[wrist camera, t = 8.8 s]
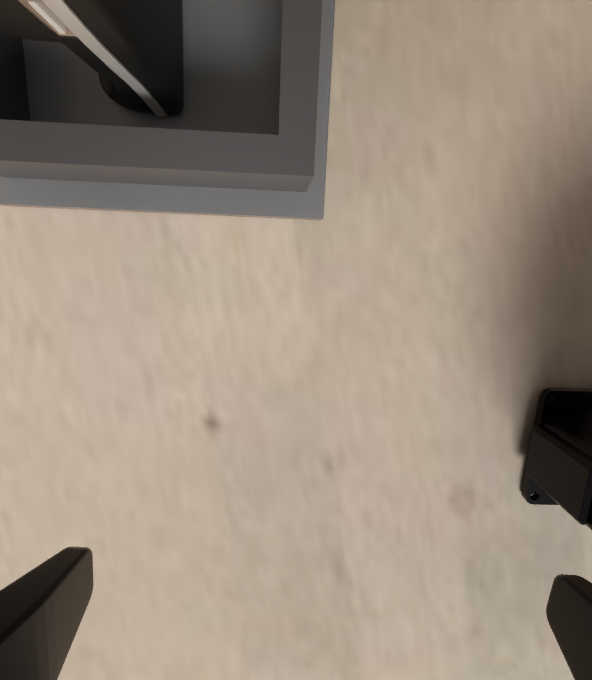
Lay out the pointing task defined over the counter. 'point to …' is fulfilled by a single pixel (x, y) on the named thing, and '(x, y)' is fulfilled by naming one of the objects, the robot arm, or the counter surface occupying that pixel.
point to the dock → (179, 120)
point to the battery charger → (113, 44)
